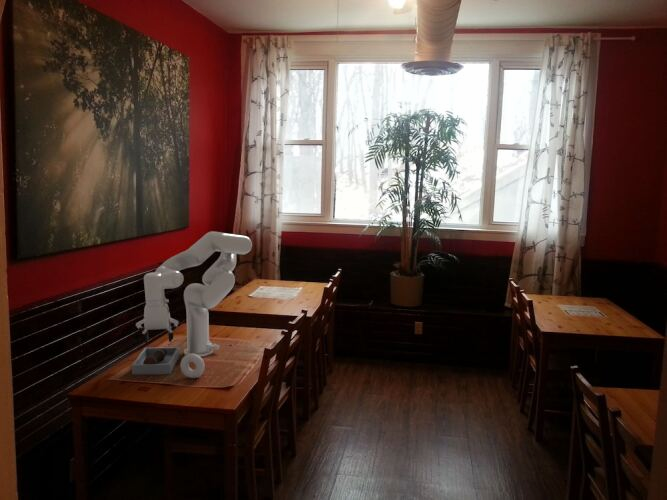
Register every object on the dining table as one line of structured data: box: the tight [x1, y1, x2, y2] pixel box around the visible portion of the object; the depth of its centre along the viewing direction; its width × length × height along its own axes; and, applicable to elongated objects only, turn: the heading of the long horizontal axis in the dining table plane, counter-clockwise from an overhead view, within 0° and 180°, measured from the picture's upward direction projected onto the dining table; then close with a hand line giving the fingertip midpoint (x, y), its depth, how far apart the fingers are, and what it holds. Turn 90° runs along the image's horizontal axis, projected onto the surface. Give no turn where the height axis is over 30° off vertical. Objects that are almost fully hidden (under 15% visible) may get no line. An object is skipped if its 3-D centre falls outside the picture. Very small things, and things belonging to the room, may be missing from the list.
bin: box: [131, 346, 181, 376], centre depth 225 cm, size 15×21×4 cm
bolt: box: [143, 349, 167, 364], centre depth 225 cm, size 6×5×15 cm
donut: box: [179, 354, 206, 379], centre depth 212 cm, size 10×4×10 cm, turn 80°
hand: (158, 341), depth 225 cm, fingers open, 9 cm apart
